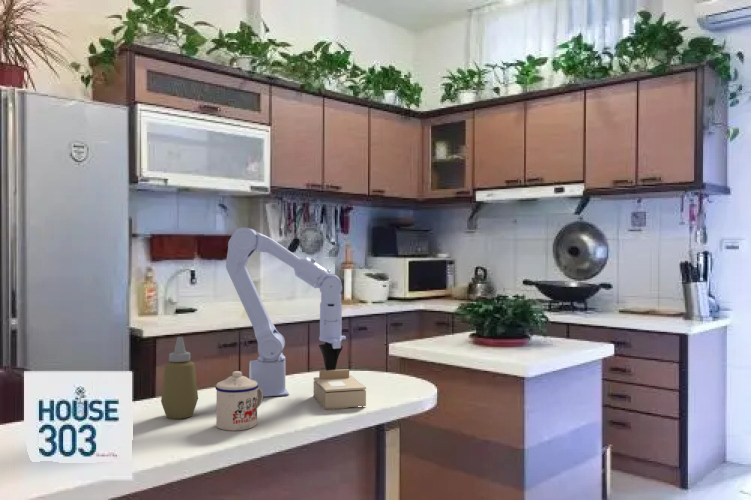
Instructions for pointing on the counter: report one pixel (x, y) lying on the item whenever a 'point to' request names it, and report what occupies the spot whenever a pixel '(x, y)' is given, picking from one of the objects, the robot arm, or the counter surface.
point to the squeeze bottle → (179, 384)
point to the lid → (337, 381)
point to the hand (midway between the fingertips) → (330, 371)
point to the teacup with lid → (237, 402)
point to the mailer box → (339, 398)
